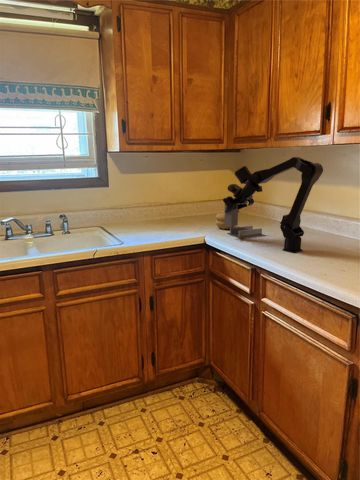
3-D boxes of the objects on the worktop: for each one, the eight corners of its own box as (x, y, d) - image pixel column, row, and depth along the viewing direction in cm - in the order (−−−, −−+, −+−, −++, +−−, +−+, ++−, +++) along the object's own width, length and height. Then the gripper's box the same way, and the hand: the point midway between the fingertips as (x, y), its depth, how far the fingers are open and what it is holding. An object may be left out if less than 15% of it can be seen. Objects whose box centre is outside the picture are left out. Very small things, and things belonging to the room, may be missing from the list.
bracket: (264, 235, 196) (265, 229, 195) (240, 238, 189) (241, 232, 189) (250, 231, 207) (250, 224, 206) (226, 233, 201) (227, 227, 200)
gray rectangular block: (237, 225, 189) (238, 199, 186) (231, 226, 186) (231, 200, 183) (229, 224, 193) (230, 198, 190) (223, 225, 189) (224, 199, 186)
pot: (219, 225, 223) (219, 209, 220) (238, 227, 218) (239, 210, 215) (212, 229, 212) (212, 212, 210) (232, 231, 207) (232, 213, 205)
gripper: (249, 177, 187) (231, 197, 198) (226, 179, 175) (208, 201, 185) (262, 194, 184) (243, 214, 194) (239, 198, 171) (220, 219, 181)
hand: (229, 211), depth 189 cm, fingers closed on gray rectangular block, 5 cm apart
